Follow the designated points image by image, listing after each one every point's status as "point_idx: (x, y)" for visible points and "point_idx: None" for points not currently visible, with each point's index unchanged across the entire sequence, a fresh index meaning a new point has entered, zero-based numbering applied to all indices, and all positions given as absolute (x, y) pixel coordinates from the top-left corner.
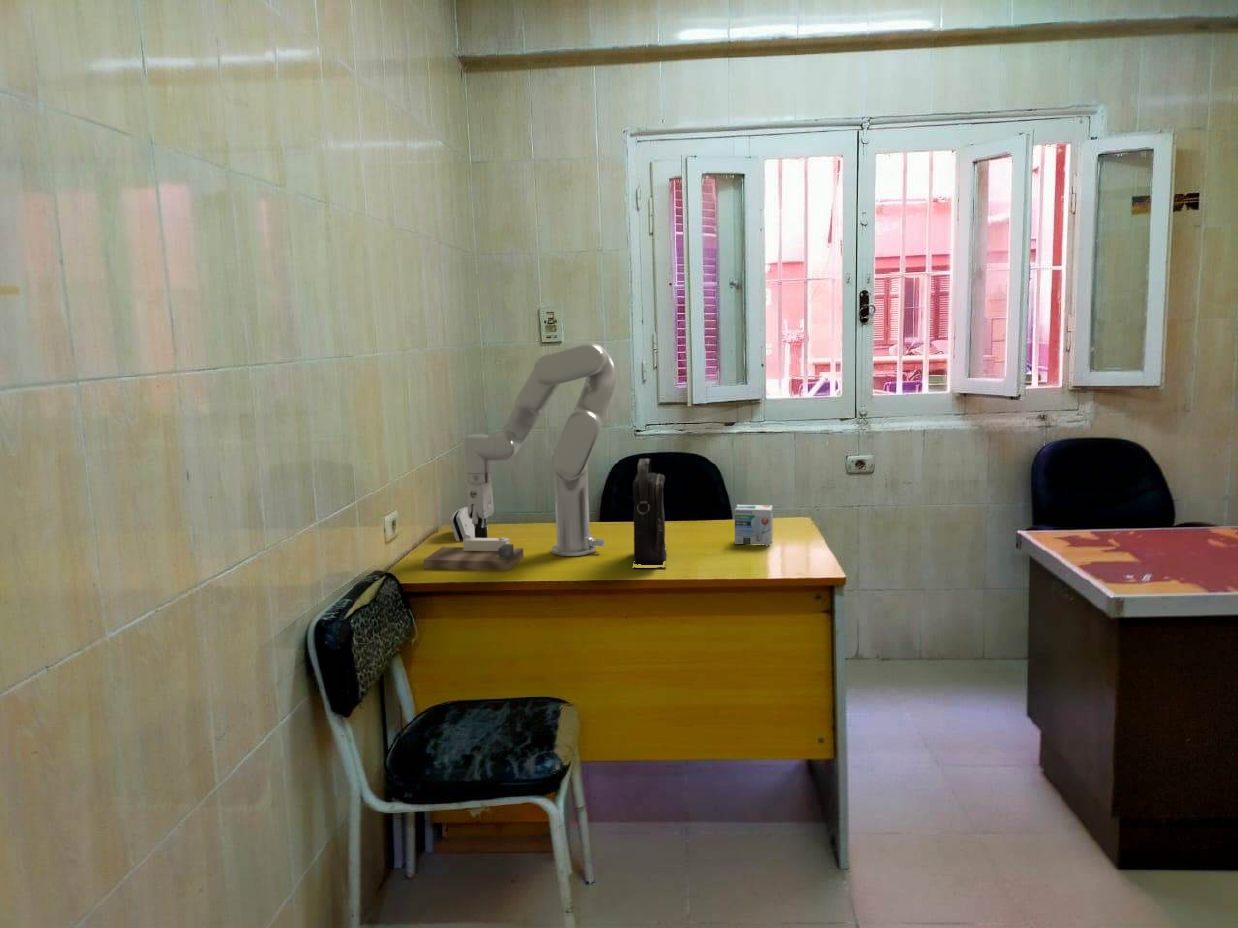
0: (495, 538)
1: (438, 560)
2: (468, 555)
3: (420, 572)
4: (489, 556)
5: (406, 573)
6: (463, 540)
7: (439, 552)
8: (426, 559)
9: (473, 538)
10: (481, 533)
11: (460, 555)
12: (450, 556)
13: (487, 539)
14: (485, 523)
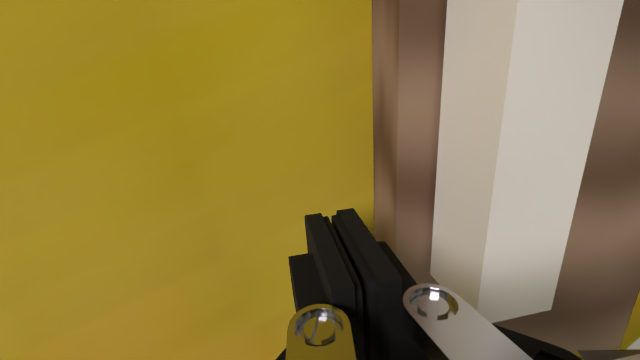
0: (525, 53)
1: (638, 285)
2: (585, 184)
3: None
4: (637, 26)
5: (626, 335)
6: (549, 305)
7: None
8: (616, 339)
9: (505, 265)
10: (402, 267)
11: (576, 230)
12: (587, 269)
13: (554, 125)
14: (351, 337)
